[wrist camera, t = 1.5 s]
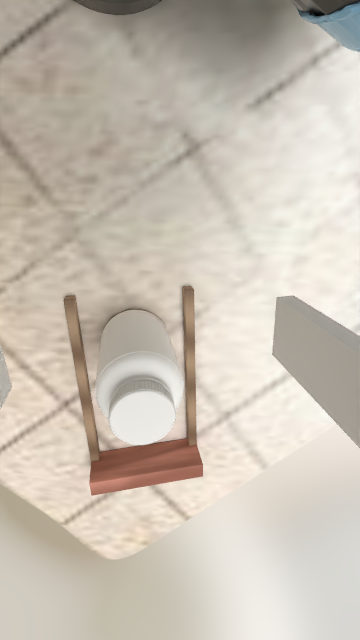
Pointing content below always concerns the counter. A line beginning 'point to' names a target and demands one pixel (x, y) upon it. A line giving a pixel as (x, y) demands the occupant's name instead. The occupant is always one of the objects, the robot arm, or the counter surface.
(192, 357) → the guide channel
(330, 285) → the counter surface
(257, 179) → the counter surface
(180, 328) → the counter surface
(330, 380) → the robot arm
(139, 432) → the pill bottle
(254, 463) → the counter surface
